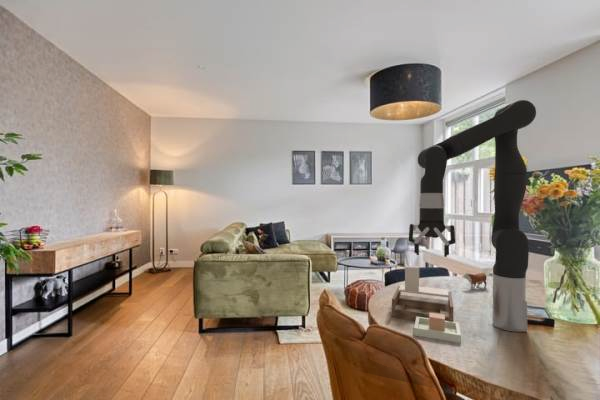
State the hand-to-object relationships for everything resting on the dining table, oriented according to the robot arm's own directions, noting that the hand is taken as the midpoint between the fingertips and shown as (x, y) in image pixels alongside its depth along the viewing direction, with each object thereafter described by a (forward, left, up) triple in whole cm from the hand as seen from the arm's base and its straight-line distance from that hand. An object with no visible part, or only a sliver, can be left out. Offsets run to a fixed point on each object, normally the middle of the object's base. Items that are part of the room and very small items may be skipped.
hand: (431, 255), depth 106 cm
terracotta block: (-2, +4, -23) cm, 23 cm away
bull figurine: (-19, -62, -24) cm, 70 cm away
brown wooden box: (+3, -14, -24) cm, 27 cm away
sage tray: (-2, +4, -24) cm, 24 cm away
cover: (+3, -18, -17) cm, 25 cm away
